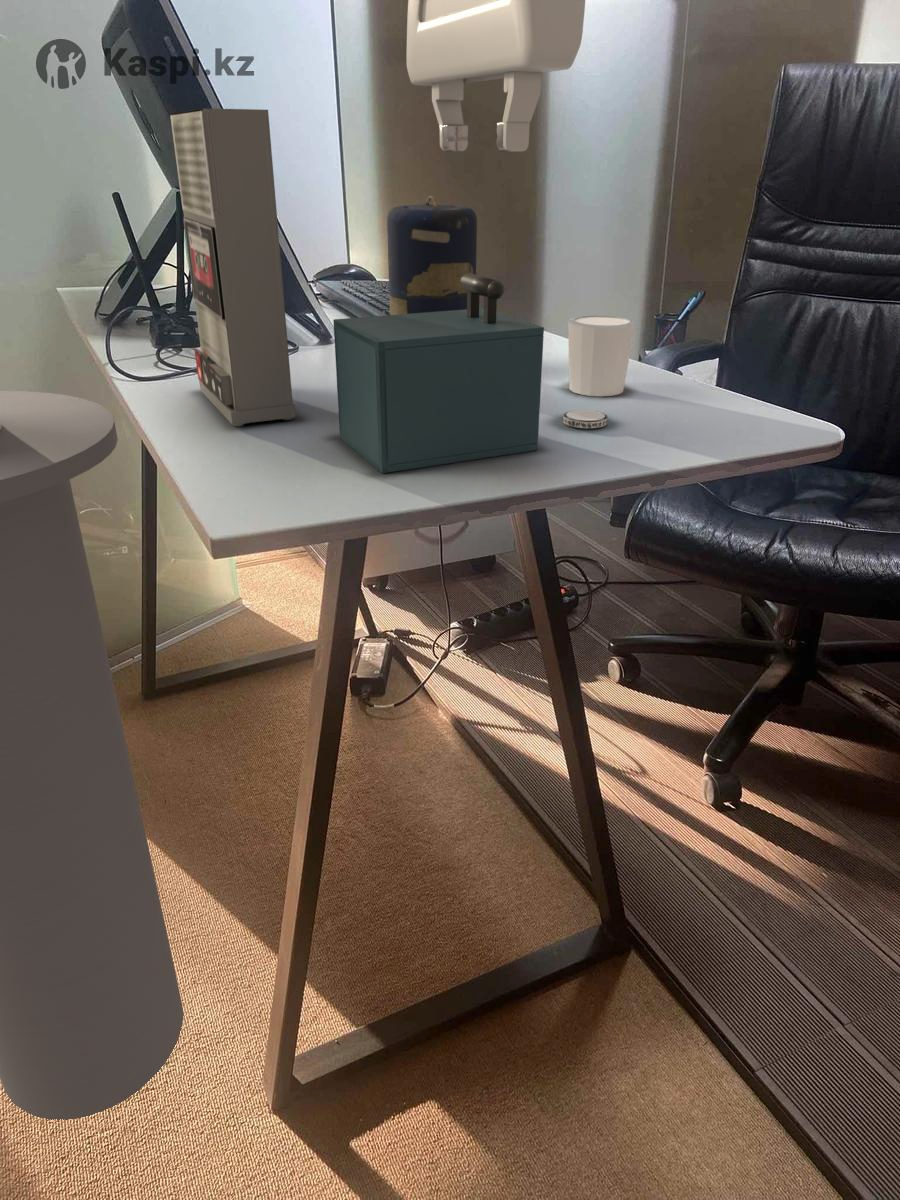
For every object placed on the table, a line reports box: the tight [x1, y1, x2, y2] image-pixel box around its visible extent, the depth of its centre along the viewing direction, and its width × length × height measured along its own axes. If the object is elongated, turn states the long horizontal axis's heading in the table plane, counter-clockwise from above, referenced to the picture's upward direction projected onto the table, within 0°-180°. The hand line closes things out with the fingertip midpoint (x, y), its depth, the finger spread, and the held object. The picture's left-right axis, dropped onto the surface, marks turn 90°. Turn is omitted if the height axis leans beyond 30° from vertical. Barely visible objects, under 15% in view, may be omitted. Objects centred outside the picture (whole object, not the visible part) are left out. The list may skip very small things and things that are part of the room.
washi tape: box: [562, 409, 608, 429], centre depth 79 cm, size 4×4×1 cm
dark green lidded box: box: [333, 273, 545, 474], centre depth 70 cm, size 14×10×13 cm
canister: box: [386, 195, 478, 315], centre depth 93 cm, size 10×10×18 cm
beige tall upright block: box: [170, 107, 296, 427], centre depth 78 cm, size 14×6×25 cm, turn 26°
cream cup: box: [567, 315, 637, 397], centre depth 88 cm, size 7×7×7 cm
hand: (481, 151), depth 63 cm, fingers open, 8 cm apart
